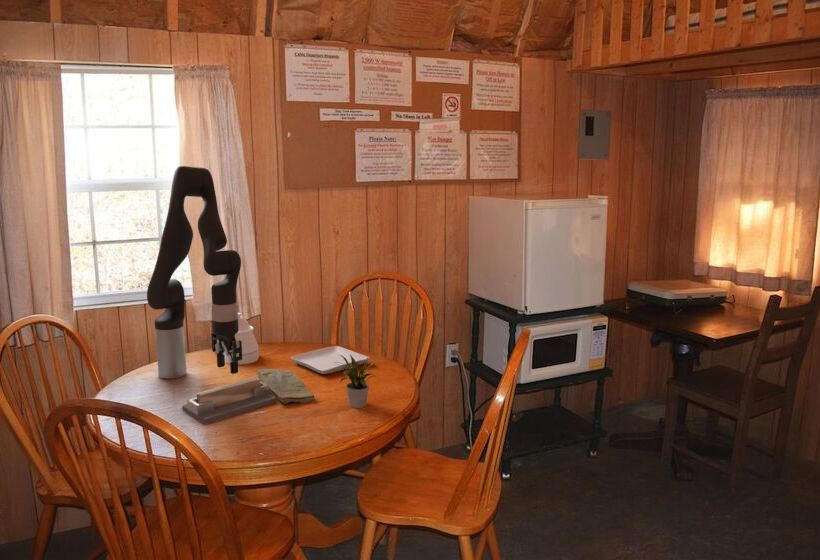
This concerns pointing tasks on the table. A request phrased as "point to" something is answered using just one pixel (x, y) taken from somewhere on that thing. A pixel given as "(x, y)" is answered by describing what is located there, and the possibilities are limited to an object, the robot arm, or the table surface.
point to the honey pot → (245, 343)
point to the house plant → (356, 384)
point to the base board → (232, 408)
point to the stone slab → (285, 385)
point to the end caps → (208, 405)
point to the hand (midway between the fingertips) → (227, 369)
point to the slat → (229, 392)
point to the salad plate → (328, 359)
